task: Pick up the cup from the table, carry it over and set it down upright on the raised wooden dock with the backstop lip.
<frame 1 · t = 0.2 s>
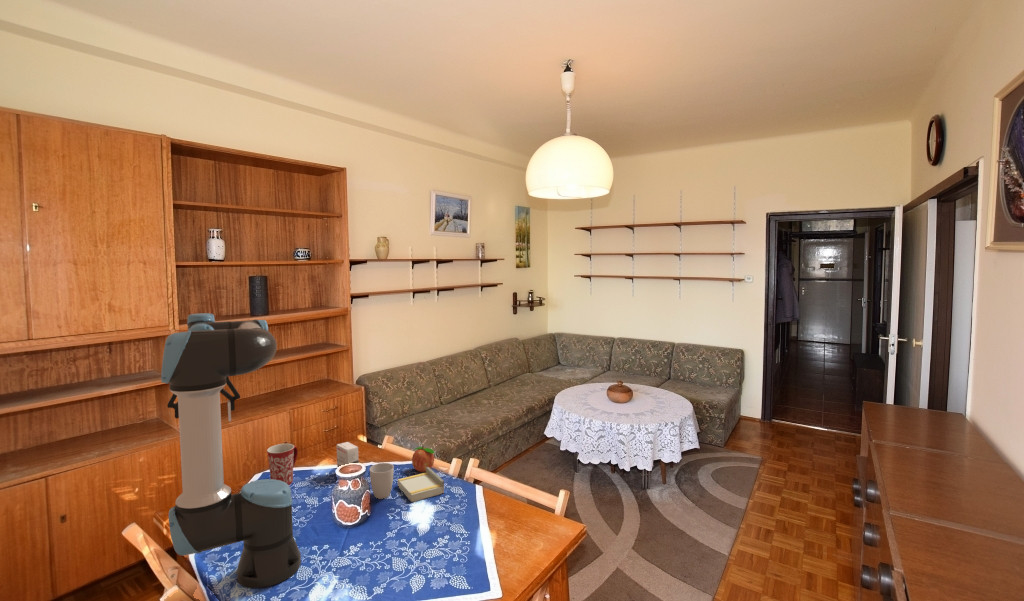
hand: (206, 423, 161), 28 cm above the table, fingers open, 13 cm apart
mug: (285, 481, 181), on the table
dock: (420, 489, 174), on the table
ink box: (348, 475, 186), on the table
fruit: (423, 470, 191), on the table
cup: (382, 496, 170), on the table
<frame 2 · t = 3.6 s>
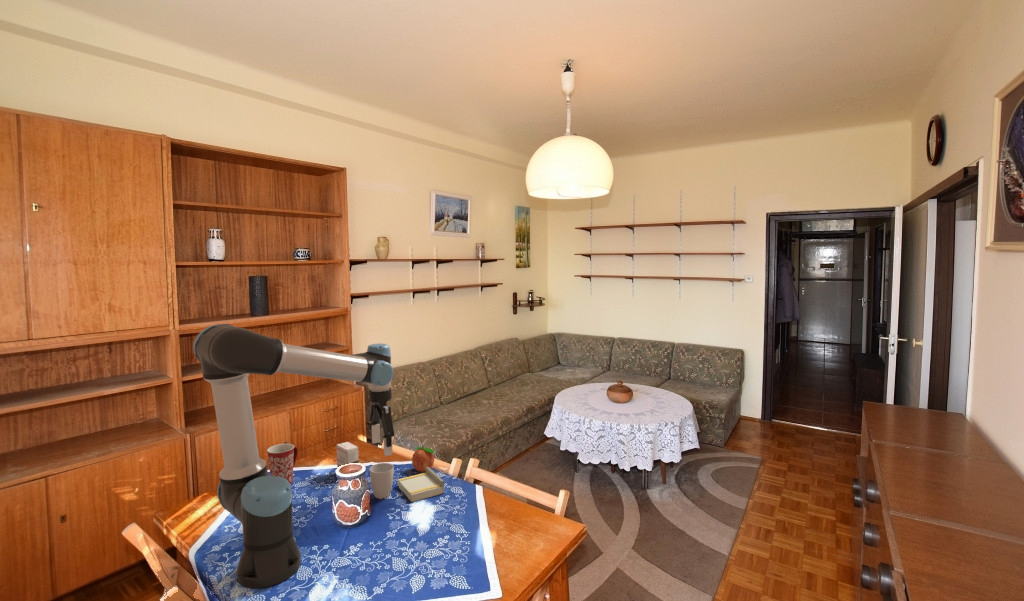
hand: (382, 448, 169), 17 cm above the table, fingers open, 13 cm apart
nothing on the table moved.
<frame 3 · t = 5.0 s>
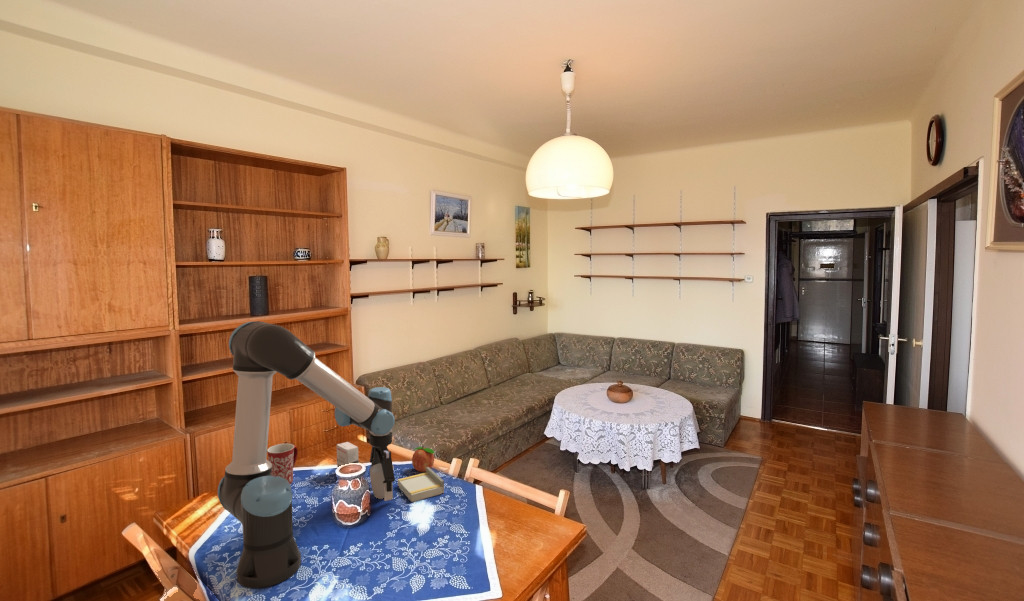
hand: (382, 491, 170), 1 cm above the table, fingers open, 13 cm apart
nothing on the table moved.
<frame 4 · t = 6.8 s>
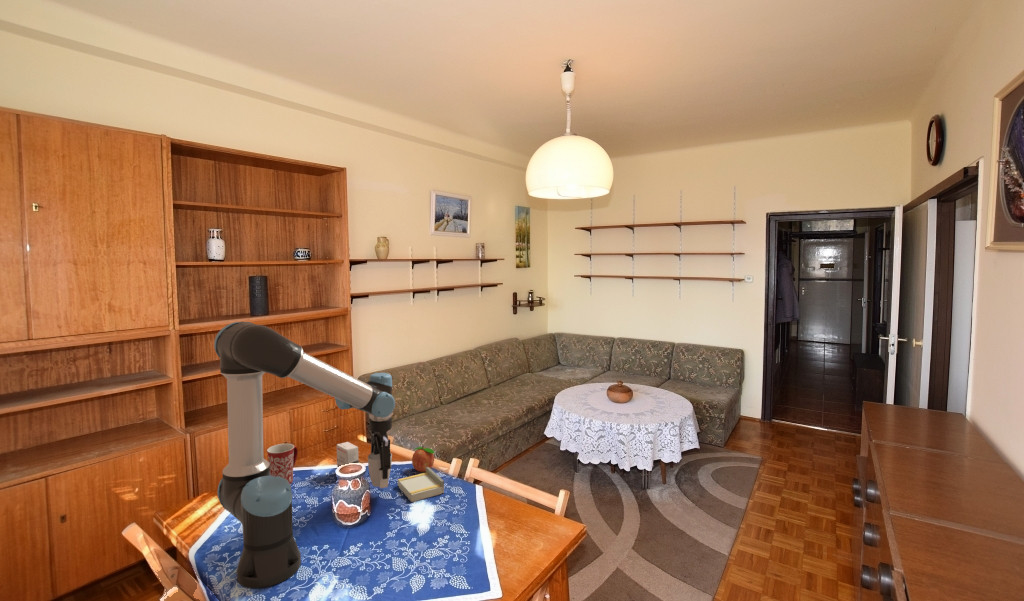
hand: (380, 482, 169), 5 cm above the table, fingers closed on cup, 8 cm apart
cup: (379, 484, 169), point 4 cm above the table, touching gripper
everything else where it was.
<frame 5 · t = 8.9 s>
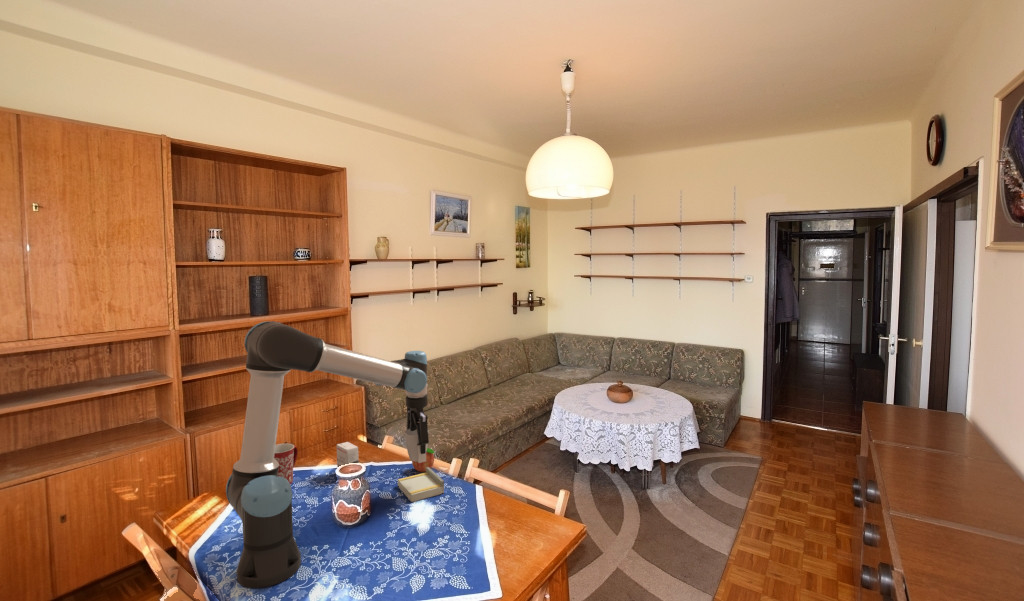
hand: (417, 457, 173), 12 cm above the table, fingers closed on cup, 8 cm apart
cup: (417, 459, 173), point 11 cm above the table, touching gripper
everything else where it was.
when the fingers open (4 cm above the table, at t = 11.1 s): cup stays where it is, resting on dock.
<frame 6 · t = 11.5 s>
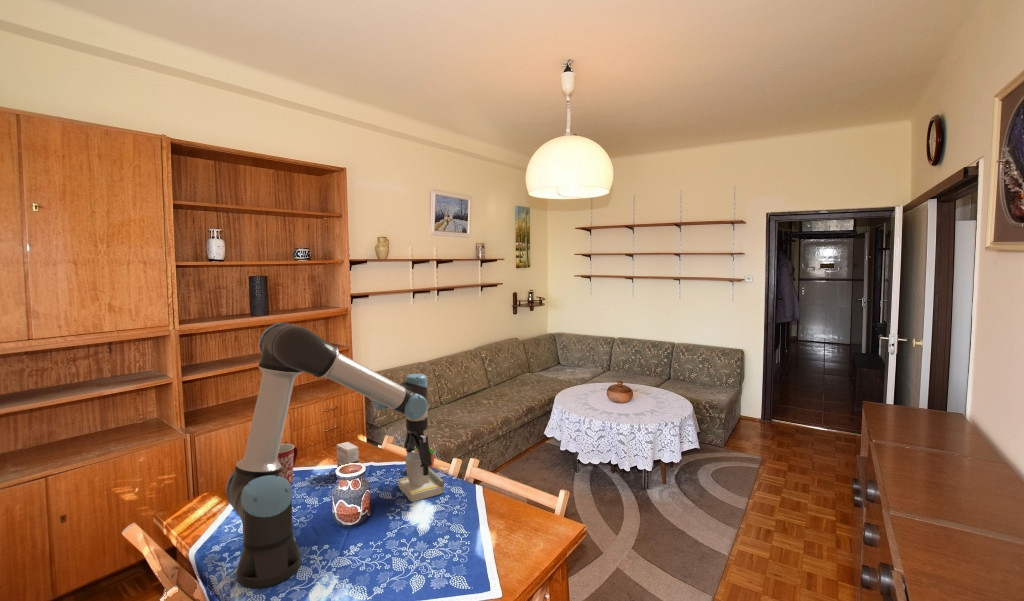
hand: (417, 476, 173), 5 cm above the table, fingers open, 13 cm apart
cup: (417, 484, 173), point 2 cm above the table, touching dock
everything else where it was.
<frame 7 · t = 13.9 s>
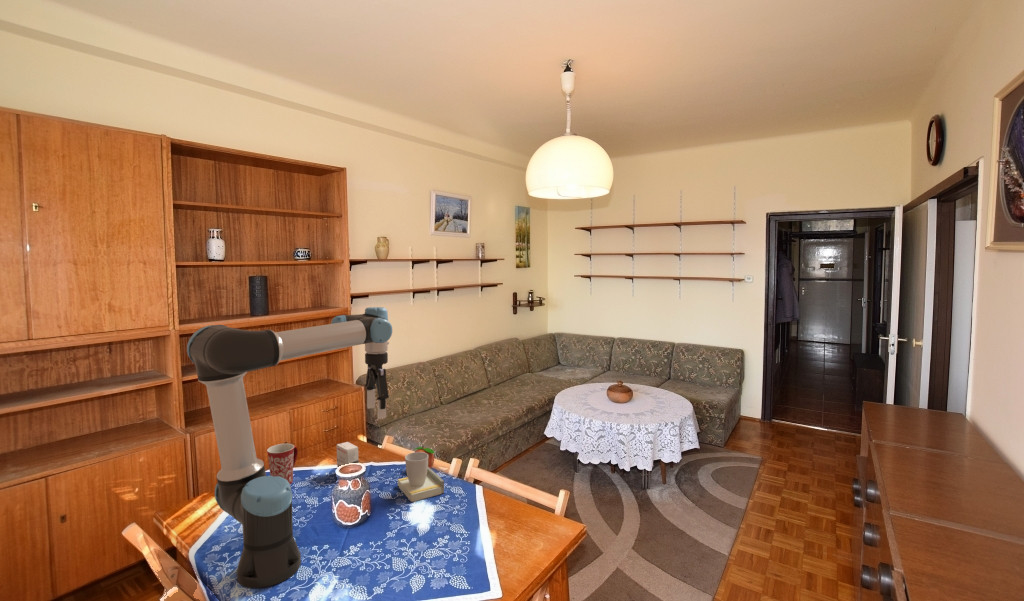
hand: (376, 412, 168), 29 cm above the table, fingers open, 13 cm apart
nothing on the table moved.
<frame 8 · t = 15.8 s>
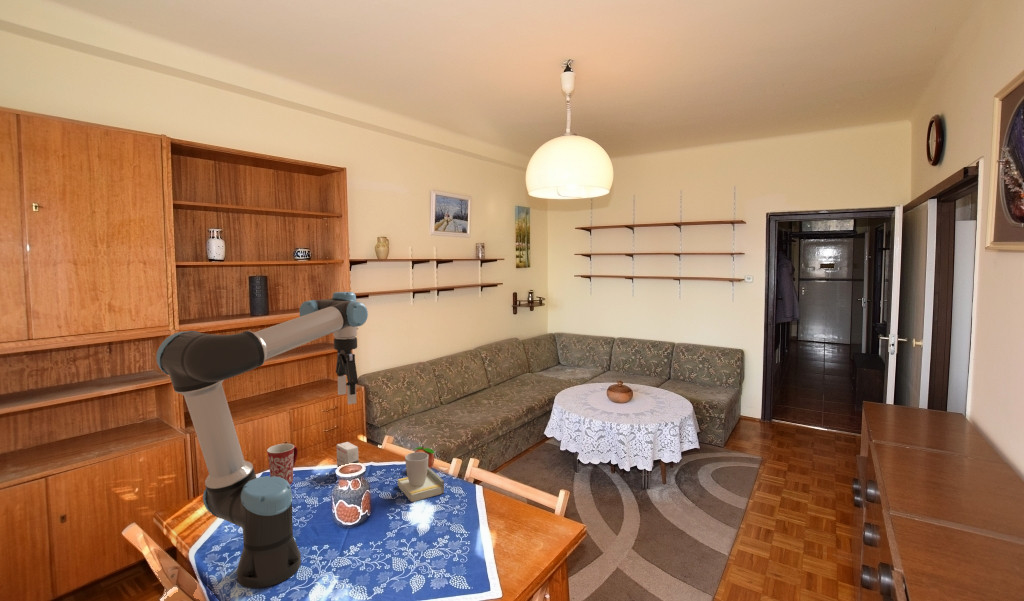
hand: (346, 398, 166), 35 cm above the table, fingers open, 13 cm apart
nothing on the table moved.
at the end: cup 1.2 cm from the dock (horizontally); cup touching dock; cup tilted 0° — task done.
